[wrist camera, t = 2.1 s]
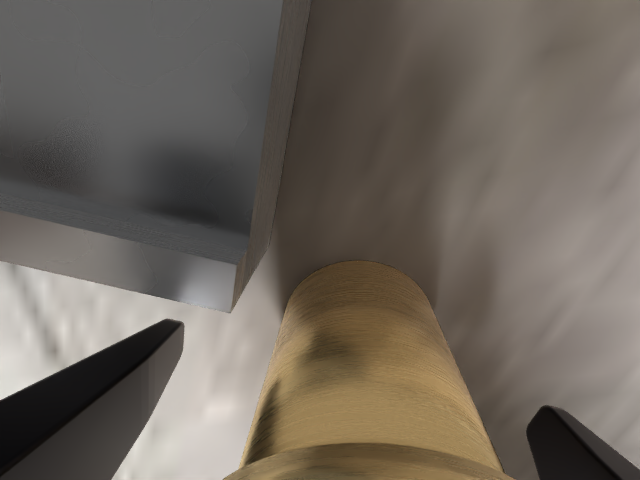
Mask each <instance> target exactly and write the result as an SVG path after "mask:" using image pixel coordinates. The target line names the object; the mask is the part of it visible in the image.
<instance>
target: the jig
mask: <svg viewBox="0 0 640 480" xmlns="http://www.w3.org/2000/svg"><path fill="white" fill-rule="evenodd" d="M311 1H312V0H0V261H4V262H8V263H13V264H17V265H21V266H26V267H30V268H34V269H39V270H43V271H48V272H52V273H56V274H61V275H65V276H69V277H74V278H78V279H82V280H87V281H91V282H95V283H100V284H104V285H109V286H113V287H117V288H122V289H126V290H130V291H135V292H139V293H143V294H148V295H152V296H157V297H161V298H165V299H170V300H174V301H178V302H183V303H187V304H191V305H196V306H200V307H204V308H209V309H213V310H218V311H222V312H226V313H231V312H232V310H233V308H234V306H235V305H236V303H237V301H238V299H239V298H240V296H241V294H242V292H243V290H244V289H245V287H246V285H247V283H248V282H249V280H250V278H251V276H252V274H253V273H254V271H255V269H256V267H257V266H258V264H259V262H260V260H261V259H262V257H263V255H264V253H265V251H266V250H267V248H268V246H269V244H270V238H271V232H272V226H273V220H274V215H275V209H276V203H277V197H278V192H279V186H280V180H281V174H282V169H283V163H284V157H285V151H286V145H287V140H288V134H289V128H290V122H291V117H292V111H293V105H294V99H295V94H296V88H297V82H298V76H299V70H300V65H301V59H302V53H303V47H304V42H305V36H306V30H307V24H308V19H309V13H310V7H311Z"/></svg>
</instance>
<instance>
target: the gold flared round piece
mask: <svg viewBox="0 0 640 480" xmlns="http://www.w3.org/2000/svg"><path fill="white" fill-rule="evenodd" d="M223 480H515V479H513V478H512V477H510V476H508V475H506V474H505V472H504V470H503V467H502V465H501V463H500V461H499V458H498V456H497V454H496V452H495V449H494V447H493V445H492V443H491V440H490V438H489V436H488V434H487V431H486V429H485V427H484V425H483V422H482V420H481V418H480V416H479V413H478V411H477V409H476V407H475V404H474V402H473V400H472V398H471V395H470V393H469V391H468V389H467V386H466V384H465V382H464V380H463V377H462V375H461V373H460V371H459V369H458V366H457V364H456V362H455V360H454V357H453V355H452V353H451V351H450V348H449V346H448V344H447V342H446V339H445V337H444V335H443V333H442V330H441V328H440V326H439V324H438V321H437V319H436V317H435V315H434V312H433V310H432V308H431V306H430V303H429V301H428V299H427V297H426V295H425V294H424V292H423V291H422V289H421V288H420V287H419V286H418V285H417V284H416V283H415V282H414V281H413V280H412V279H411V278H410V277H408V276H407V275H406V274H404V273H402V272H401V271H399V270H397V269H395V268H393V267H390V266H388V265H384V264H381V263H377V262H371V261H360V260H356V261H344V262H339V263H335V264H332V265H328V266H326V267H323V268H321V269H319V270H317V271H315V272H314V273H312V274H311V275H309V276H308V277H307V278H305V279H304V280H303V281H302V282H301V283H300V284H299V285H298V286H297V287H296V289H295V290H294V292H293V293H292V295H291V297H290V299H289V301H288V303H287V306H286V310H285V313H284V317H283V320H282V323H281V327H280V330H279V333H278V337H277V340H276V344H275V347H274V350H273V354H272V357H271V360H270V364H269V367H268V371H267V374H266V377H265V381H264V384H263V388H262V391H261V394H260V398H259V401H258V404H257V408H256V411H255V415H254V418H253V421H252V425H251V428H250V432H249V435H248V438H247V442H246V445H245V448H244V452H243V455H242V459H241V462H240V465H239V469H238V470H237V471H235V472H234V473H232V474H230V475H229V476H227V477H225V478H224V479H223Z"/></svg>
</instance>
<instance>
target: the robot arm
mask: <svg viewBox="0 0 640 480" xmlns="http://www.w3.org/2000/svg"><path fill="white" fill-rule="evenodd" d="M183 343H184V323H183V322H181V321H177V320H173V319H164V320H162V321H160V322H158V323H156V324H154V325H152V326H150V327H148V328H146V329H144V330H142V331H140V332H138V333H136V334H134V335H132V336H130V337H128V338H126V339H124V340H122V341H120V342H117V343H115V344H113V345H111V346H109V347H107V348H105V349H103V350H101V351H99V352H97V353H95V354H93V355H91V356H89V357H87V358H85V359H83V360H81V361H79V362H77V363H75V364H73V365H71V366H69V367H67V368H65V369H63V370H61V371H59V372H57V373H55V374H53V375H51V376H49V377H47V378H45V379H43V380H40V381H38V382H36V383H34V384H32V385H30V386H28V387H26V388H24V389H22V390H20V391H18V392H16V393H14V394H12V395H10V396H8V397H6V398H4V399H2V400H0V480H111V479H112V478H113V476H114V474H115V473H116V471H117V470H118V468H119V466H120V465H121V463H122V462H123V460H124V459H125V457H126V455H127V454H128V452H129V451H130V449H131V448H132V446H133V444H134V443H135V441H136V440H137V438H138V437H139V435H140V433H141V432H142V430H143V429H144V427H145V425H146V424H147V422H148V420H149V418H150V416H151V415H152V413H153V411H154V409H155V407H156V405H157V403H158V401H159V399H160V397H161V395H162V393H163V391H164V389H165V387H166V385H167V383H168V381H169V379H170V377H171V375H172V373H173V371H174V369H175V367H176V365H177V363H178V361H179V359H180V357H181V354H182V351H183ZM526 434H527V439H528V442H529V445H530V449H531V452H532V455H533V458H534V462H535V465H536V468H537V471H538V475H539V478H540V480H640V470H639V469H638V468H637V467H635V466H634V465H633V464H632V463H630V462H629V461H628V460H627V459H625V458H624V457H623V456H622V455H620V454H619V453H618V452H617V451H615V450H614V449H613V448H612V447H610V446H609V445H608V444H607V443H605V442H604V441H603V440H602V439H600V438H599V437H598V436H597V435H595V434H594V433H593V432H592V431H590V430H589V429H588V428H587V427H585V426H584V425H583V424H582V423H580V422H579V421H578V420H577V419H575V418H574V417H573V416H572V415H570V414H569V413H568V412H566V411H565V410H563V409H561V408H557V407H553V406H548V405H545V406H542V407H541V408H540V409H539V411H538V412H537V413H536V415H535V416H534V417H533V419H532V420H531V422H530V423H529V424H528V426H527V430H526Z"/></svg>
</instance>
